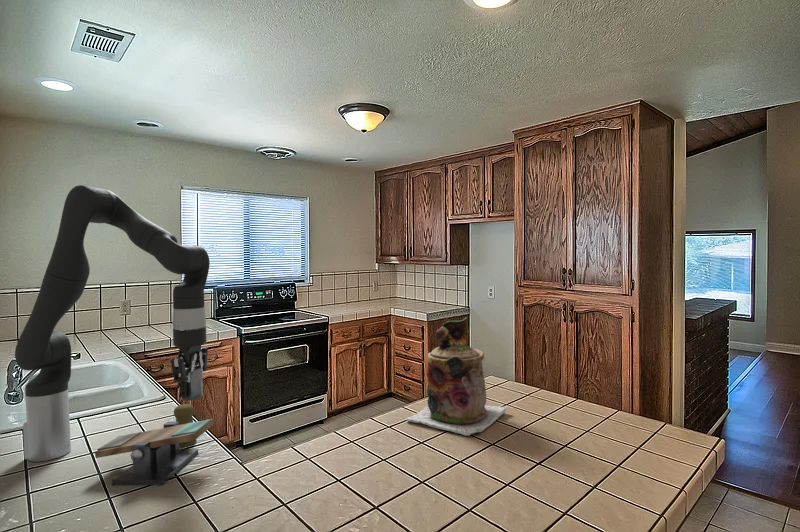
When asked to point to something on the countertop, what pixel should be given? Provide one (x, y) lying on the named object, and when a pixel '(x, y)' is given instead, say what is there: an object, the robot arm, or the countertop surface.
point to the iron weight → (195, 384)
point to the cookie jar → (456, 385)
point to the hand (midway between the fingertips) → (191, 393)
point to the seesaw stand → (154, 463)
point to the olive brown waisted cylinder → (184, 420)
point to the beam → (155, 437)
